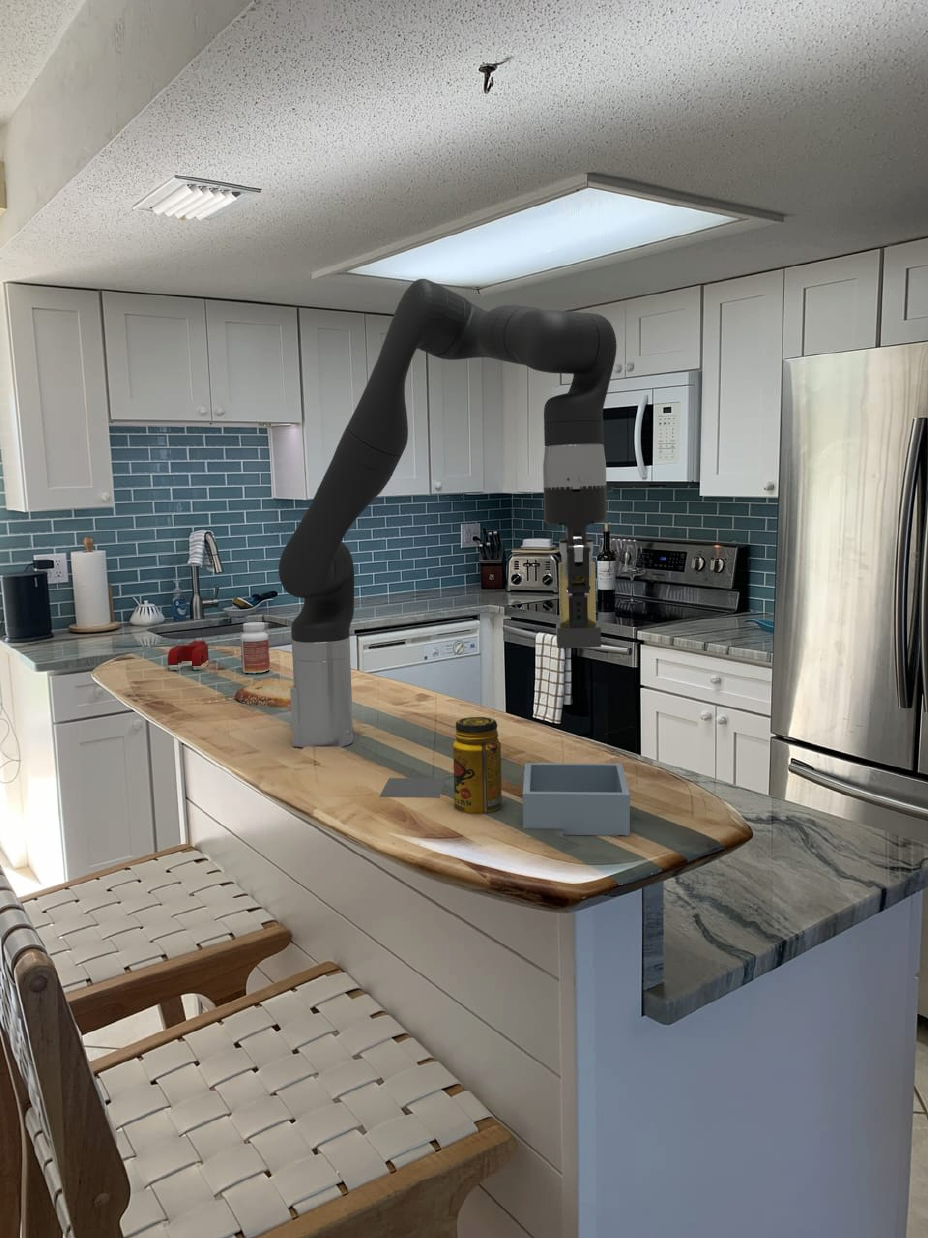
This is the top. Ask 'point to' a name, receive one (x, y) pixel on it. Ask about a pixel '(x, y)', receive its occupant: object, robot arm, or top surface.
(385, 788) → the stud plate
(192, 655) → the red arch block
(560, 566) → the gold cylindrical piece
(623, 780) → the bin
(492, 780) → the condiment
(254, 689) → the bread slice
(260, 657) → the pill bottle
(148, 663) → the top surface
